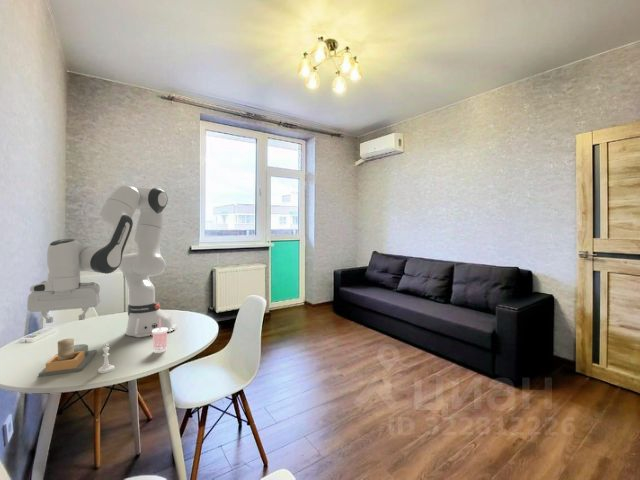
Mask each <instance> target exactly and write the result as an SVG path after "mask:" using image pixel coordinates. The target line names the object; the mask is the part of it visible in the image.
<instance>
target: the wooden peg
mask: <svg viewBox="0 0 640 480" xmlns="http://www.w3.org/2000/svg"><path fill="white" fill-rule="evenodd" d="M74 345H75V339H74V338H65V339H60V340H58V341H57V354H58V361H63V360H71V359H74Z"/></svg>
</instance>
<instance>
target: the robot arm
mask: <svg viewBox="0 0 640 480" xmlns="http://www.w3.org/2000/svg"><path fill="white" fill-rule="evenodd" d="M168 199H169V198H168V195H167V193H166V192H165V191H164V190H163V189H161V188H159V187H149V186H131V185H129V184H128V185H127V184H126V185H125V184H123V185H120V186H119V187H118V188H116V189H115V190H114V191H113V192H112V193H111V194H110V196H109V197H108V198H107V199H106V200H105V202H104V203H103V205H102V207H101V209H100V214H101V215H100V217H101V218H102V219H103V221H105V222H106V224H108V225H109V226H111V227H113V228H112V232H111V234H110V236H109V239H108V241H107V243H106V244H105V245H103V246H99V247H98V246H97V247H96V246H89V245H85V244H82V243H81V242H79V241H77V240H76V239H74V238H64V239H63V238H62V239H57V240H54V241H52V242H50V243H49V245H48V248H47V253H46V263H47V264H46V265H47V267H48V273H47V274H48V275H47V280H44V281H41V282H39V283H36V284H33V285H31V286H30V287H29V291H30V292H31V293H29V295H28V297H27V304H26V305H27V306H26V308H27V311H28V312H30V313H41V316H42V317H43V318H44V319H45V324H52V323H53V322H54V316H51V315H49V313H50V311H51V312H53V311H62V310H63V311H64V310H76V309H81V311H83V312H82V313H80V314H79V315H78V321H85V319H86V314H87V312H88V311H89V309H90V308H96V307H97V306H99V305H100V304H101V299H100V289H101V288H100V285H99V284H98V283H96V282H94V281H92V282H81V271H82V272H91V273H98V274H99V273H100V274H112V273H113V272H115V271H116V270H118V268H119V270H120V271H121V273H122V274H123V276H124V278H125V281H126V284H127V287H128V288H127V289H128V305H127V316H128V320H127V325H126V330H125V332H124V333H125V335H126V336H129V337H135V338H143V337H150V335H151V336H153V334H152V330H153V329H156V328H159V318H161V327H166V328H168V331H167V332H169V333H172V332H171V331H173V330H174V331H176V329H177V328H176V326H177V327H178V325H177V323H176V322H173V319H172V317H171V315H170V314H169V313H167V312H166V311H164V310H162V309H161V308H160V306H161V305H160V302H157V301H156V287H155V284H154V283H152V281H151V280H150V277H156V276H160V275H161V274H163V273H164V271H165V270H166V267H167V264H166V260H165V258H163V256H162V252H161V249H160V246H161V245H160V241H161V236H162V235H161V233H162V229H163V222H164V221H163V220H164V212H163V210H164V209H165V208H166V206H167V205H168ZM136 210H139V212H140V213H139V216H138V218H137V219H138V220H137V223H136V229H135V233H134V237H133V240H134V242H135V243H136V245H137V250H138V251H137V252H131V253H126V254H123V253H124V250H125V247H126V245H127V242H128V240H129V237H130V235H131V232H132V229H133V225H134V224H133V223H134V221H133V219H132V217H133V215H134V214H135V212H136ZM175 328H176V329H175ZM174 331H173V332H174Z"/></svg>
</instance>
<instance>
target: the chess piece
mask: <svg viewBox="0 0 640 480" xmlns="http://www.w3.org/2000/svg"><path fill="white" fill-rule="evenodd" d="M102 346H103V348H102V351H103V354H102V357H104V359H103V364H102V366H101V367H99V368H98V369H97V373H99V374H107V373H110V372H112V371H114V370H115V365H113V364H110V362H109V356H110V353H109V351H110V347H109V346H110V345H109V343H108V342H104V344H102Z"/></svg>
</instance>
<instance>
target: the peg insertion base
mask: <svg viewBox="0 0 640 480" xmlns="http://www.w3.org/2000/svg"><path fill="white" fill-rule="evenodd" d="M96 353H98V349H92V350H89V345H88V344H84V343H83V344H74V359H71V360H63V361H58V353H56V354H55V355H54V356H53V357H51V359H49V360H48V361H47V362H46V363H45V368H43V369H42V370H41V371H40V372H39V373H38V377H39V378H40V377H46V376H51V375H52V376H53V375H60V374H66V373H75V372H82V371H83V369H84V368H85V367H86V366H87V365H88V363H90V361H91V360H92V359H93V357H94V356H96Z"/></svg>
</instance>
